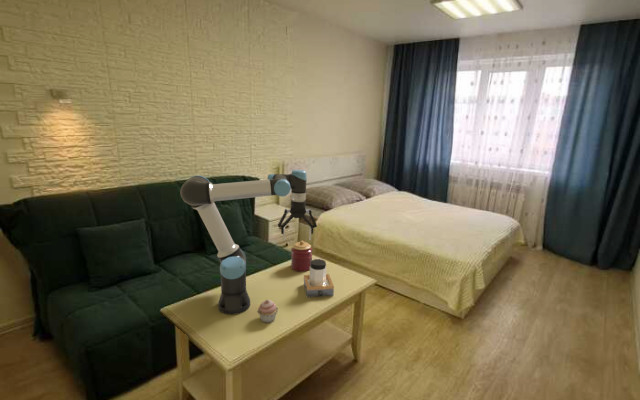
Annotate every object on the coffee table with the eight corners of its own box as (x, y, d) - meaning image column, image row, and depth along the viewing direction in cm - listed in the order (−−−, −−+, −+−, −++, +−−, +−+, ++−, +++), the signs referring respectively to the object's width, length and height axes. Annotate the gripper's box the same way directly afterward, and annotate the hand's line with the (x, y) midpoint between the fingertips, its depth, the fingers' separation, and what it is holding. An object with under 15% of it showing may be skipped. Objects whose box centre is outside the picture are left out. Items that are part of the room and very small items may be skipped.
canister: (303, 261, 214) (303, 235, 210) (316, 268, 205) (316, 241, 201) (286, 266, 206) (287, 239, 202) (299, 274, 197) (299, 246, 192)
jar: (328, 283, 177) (329, 263, 174) (317, 288, 172) (317, 267, 169) (318, 277, 183) (318, 257, 181) (306, 281, 178) (307, 261, 176)
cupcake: (253, 319, 151) (252, 299, 149) (269, 311, 158) (269, 292, 155) (266, 328, 145) (266, 307, 143) (282, 319, 152) (282, 299, 149)
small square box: (307, 298, 170) (307, 288, 169) (303, 284, 184) (304, 275, 183) (333, 296, 172) (334, 286, 171) (328, 283, 186) (328, 274, 185)
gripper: (273, 201, 164) (273, 242, 169) (323, 202, 168) (321, 241, 172) (273, 198, 171) (273, 237, 176) (321, 199, 175) (319, 237, 180)
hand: (297, 239), depth 174 cm, fingers open, 13 cm apart
